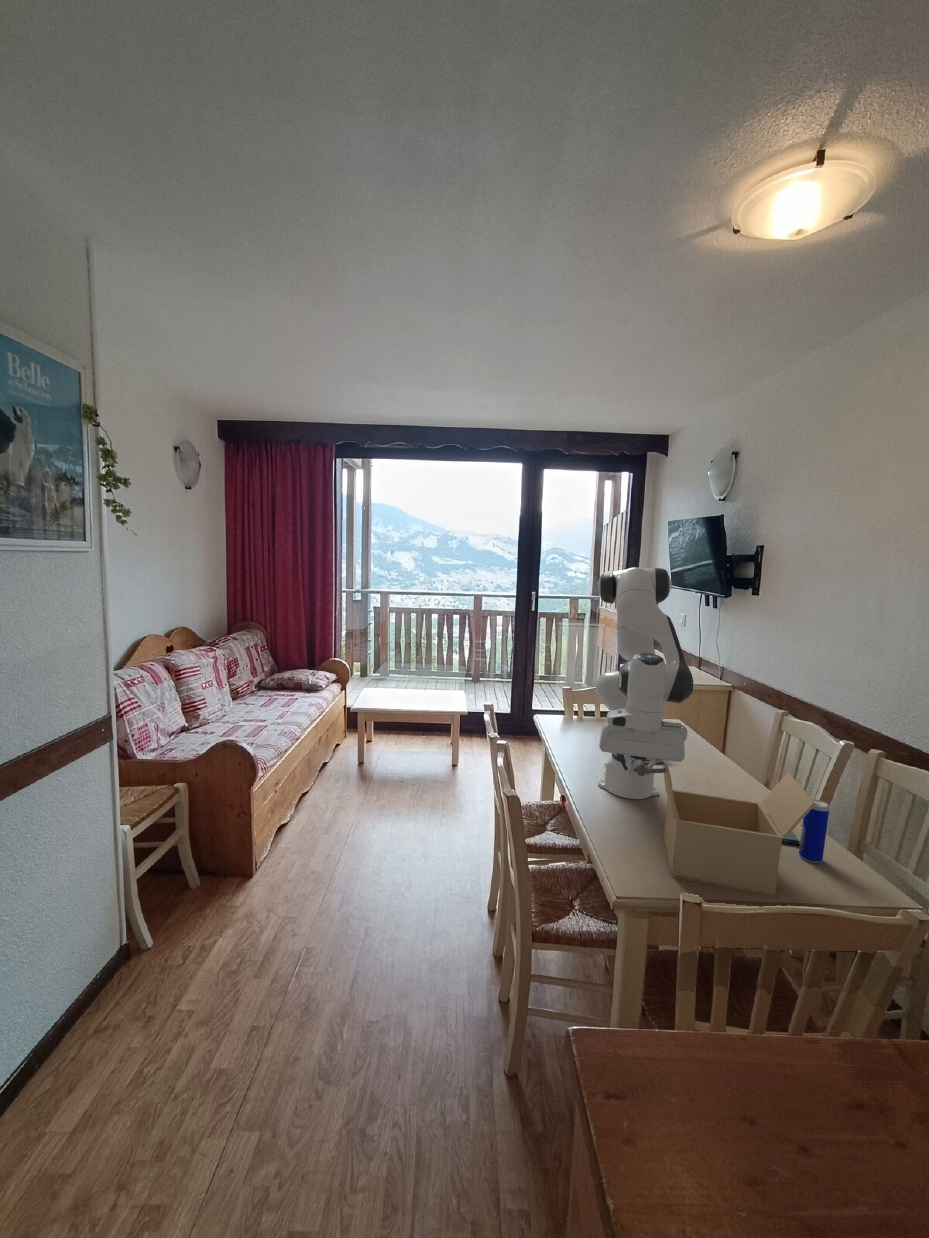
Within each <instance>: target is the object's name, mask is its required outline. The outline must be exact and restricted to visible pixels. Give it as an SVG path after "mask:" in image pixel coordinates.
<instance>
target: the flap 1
mask: <svg viewBox="0 0 929 1238" xmlns="http://www.w3.org/2000/svg"><path fill="white" fill-rule="evenodd" d="M649 763H650V761H646V762H643V761H642V760H637V761H636V770H637V774H638V775H639V776H644V775H645V773H646V774H647V773H654V774H662V773H663V779H664V786H665V787H664V789H665V792H666V796H667V797H668V800H669V804H670V808H671V811H672V815H673V819H676V813H675V805H674V797H673V790H674V789H673V783H672V782H673V781H672V775H671V771H670V769H669V766H668V763H667V760H662V759H661V760H656V764H655V765H654V766H662V768H654V769H645V767H644V765H645V766H648V765H649Z"/></svg>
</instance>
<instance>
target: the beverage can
mask: <svg viewBox="0 0 929 1238" xmlns="http://www.w3.org/2000/svg"><path fill="white" fill-rule="evenodd" d="M812 800H813V801H814V802H815V803H816V805H815V806H814V807H813V808H812V809H811V810H810V811H809V813H808V814H807V815H806V816H805V817H804V818H803V819H802V825H801V834H800V840H799V841H800V843H799V844H800V846H798V847H799V848H798V849H799V850H798V854H799V857H800V858H801V859H802V860H803V861H806V862H808V863H812V864H819V863H821V862H823V858H824V852H825V844H826V837H827V829H828V822H829V815H830V807H829V804H828V803H827V802H825V801H823V800H820V799H817V798H812Z"/></svg>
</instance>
